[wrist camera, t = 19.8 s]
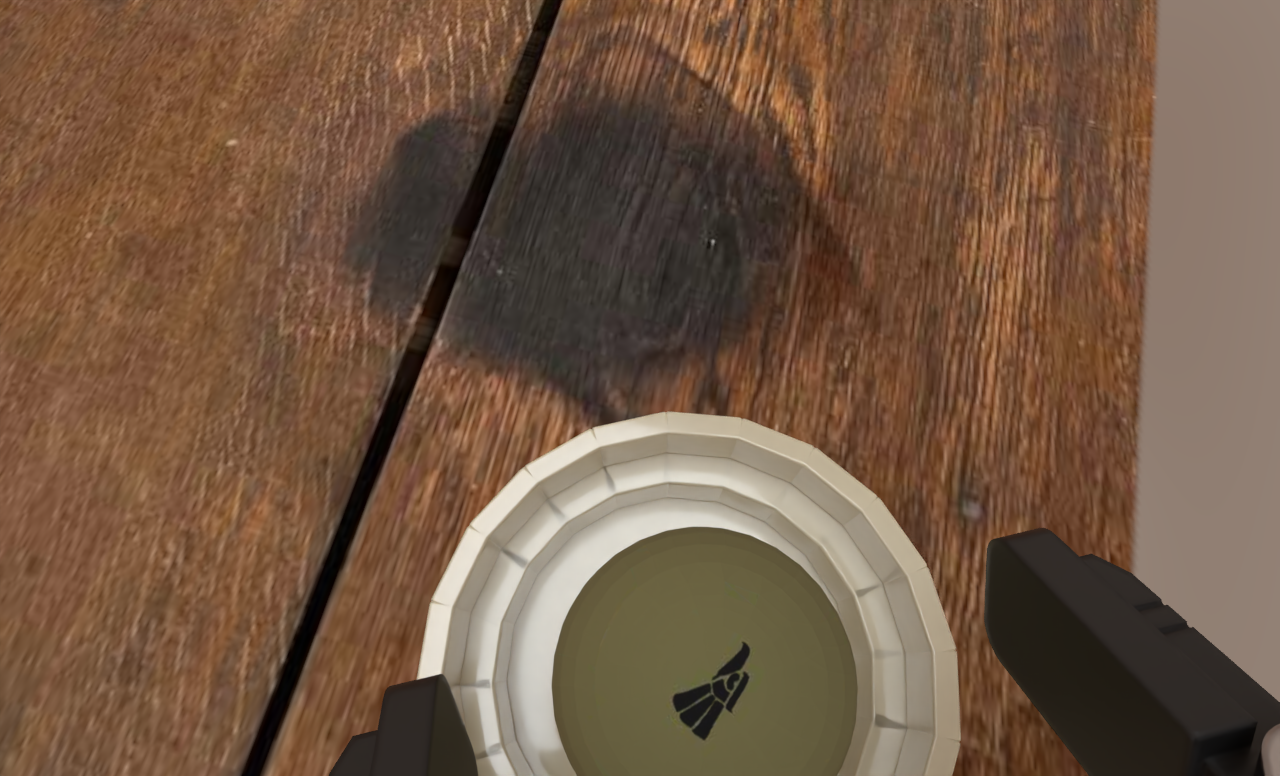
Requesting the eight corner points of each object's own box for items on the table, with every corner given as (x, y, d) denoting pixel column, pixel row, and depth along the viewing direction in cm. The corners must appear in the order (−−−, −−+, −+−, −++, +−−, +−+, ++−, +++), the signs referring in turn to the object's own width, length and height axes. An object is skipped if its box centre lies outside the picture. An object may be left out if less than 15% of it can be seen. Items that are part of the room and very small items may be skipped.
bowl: (822, 419, 24) (860, 367, 20) (962, 855, 20) (1047, 906, 16) (434, 506, 23) (387, 471, 19) (500, 979, 19) (459, 1068, 15)
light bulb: (744, 826, 20) (832, 970, 11) (548, 732, 21) (466, 790, 11) (814, 617, 22) (944, 581, 12) (630, 538, 22) (620, 447, 13)
